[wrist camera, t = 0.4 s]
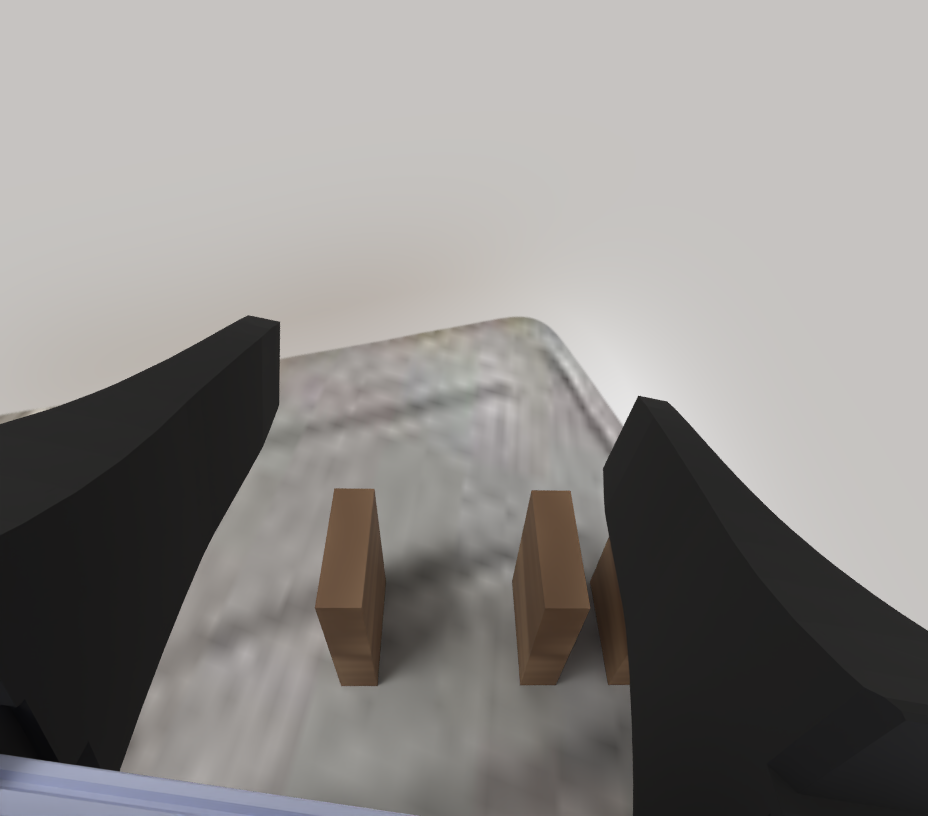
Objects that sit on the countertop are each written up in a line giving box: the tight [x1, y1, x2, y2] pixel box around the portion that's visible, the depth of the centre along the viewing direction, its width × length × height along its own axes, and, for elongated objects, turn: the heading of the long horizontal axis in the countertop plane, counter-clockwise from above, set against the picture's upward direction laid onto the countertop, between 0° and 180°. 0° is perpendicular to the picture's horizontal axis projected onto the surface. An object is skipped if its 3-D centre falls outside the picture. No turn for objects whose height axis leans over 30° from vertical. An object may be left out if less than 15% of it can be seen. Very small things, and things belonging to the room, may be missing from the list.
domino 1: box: [315, 489, 386, 686], centre depth 25 cm, size 2×5×8 cm, turn 1°
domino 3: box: [590, 538, 630, 685], centre depth 25 cm, size 2×5×8 cm, turn 1°
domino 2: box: [512, 490, 590, 685], centre depth 25 cm, size 2×5×8 cm, turn 1°
